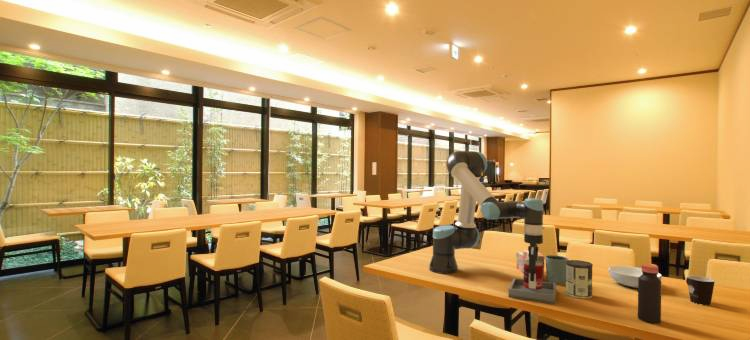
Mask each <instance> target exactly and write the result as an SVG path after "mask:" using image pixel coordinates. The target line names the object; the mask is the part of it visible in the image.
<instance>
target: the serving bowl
mask: <svg viewBox="0 0 750 340" xmlns="http://www.w3.org/2000/svg"><path fill="white" fill-rule="evenodd" d="M608 274H609V276H610V278H612V279H613V281H615V282H616V283H619V284H621V285H624V286H627V287H629V288H633V289H634V288H635V289H638V278H639V277H640V276H641V275H642V274H643V272H642V267H636V266H629V265H627V266H626V265H612V266H609V267H608ZM657 277H658V278H659V279H660V280H661V281H662V274H661V273H659V272H658V274H657Z"/></svg>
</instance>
